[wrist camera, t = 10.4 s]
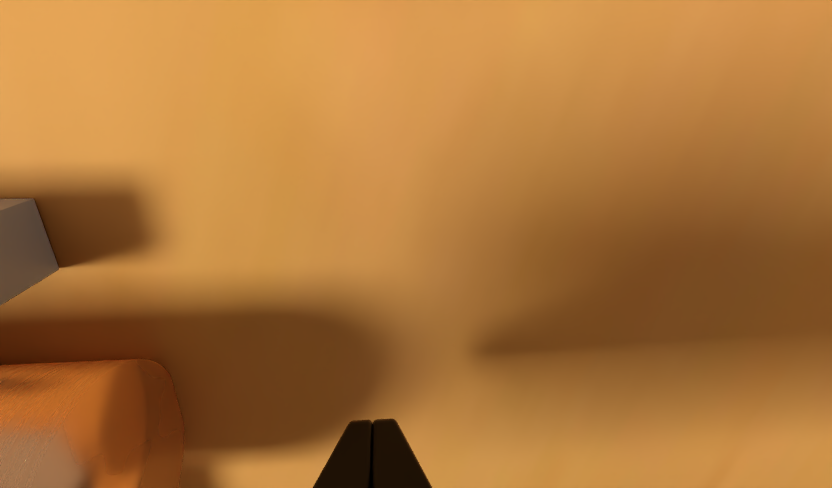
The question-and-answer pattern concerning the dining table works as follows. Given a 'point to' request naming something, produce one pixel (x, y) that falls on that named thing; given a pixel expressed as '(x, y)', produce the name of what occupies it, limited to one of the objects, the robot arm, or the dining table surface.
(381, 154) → the dining table surface
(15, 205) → the gray forked cradle
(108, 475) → the pipe stub
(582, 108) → the dining table surface
